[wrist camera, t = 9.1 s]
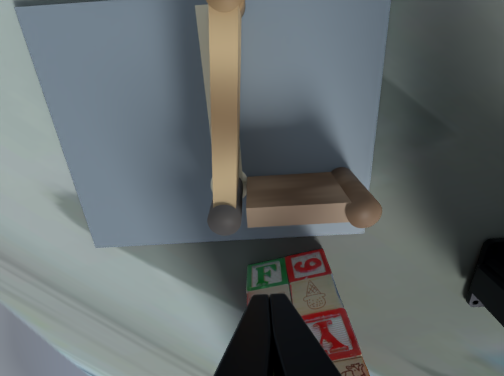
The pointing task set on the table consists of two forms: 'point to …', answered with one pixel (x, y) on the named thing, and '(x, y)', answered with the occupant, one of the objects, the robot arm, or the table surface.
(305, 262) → the stack of blocks
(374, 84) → the board
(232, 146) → the folding fence panel
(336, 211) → the fixed fence section
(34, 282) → the table surface
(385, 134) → the table surface
